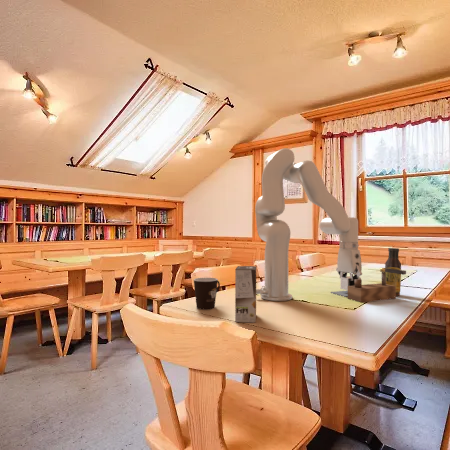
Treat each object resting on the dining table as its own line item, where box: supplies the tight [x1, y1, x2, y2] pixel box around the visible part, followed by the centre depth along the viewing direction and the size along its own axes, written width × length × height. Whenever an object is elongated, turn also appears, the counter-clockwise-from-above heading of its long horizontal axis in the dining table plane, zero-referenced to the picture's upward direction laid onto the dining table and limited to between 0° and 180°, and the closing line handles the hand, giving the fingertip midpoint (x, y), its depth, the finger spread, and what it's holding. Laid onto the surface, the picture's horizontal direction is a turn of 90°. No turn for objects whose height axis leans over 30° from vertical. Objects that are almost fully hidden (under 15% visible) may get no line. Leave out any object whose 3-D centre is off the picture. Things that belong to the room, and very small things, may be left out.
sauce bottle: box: [384, 247, 402, 297], centre depth 138 cm, size 6×6×20 cm
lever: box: [379, 267, 407, 276], centre depth 130 cm, size 10×3×1 cm, turn 28°
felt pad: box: [330, 290, 348, 298], centre depth 140 cm, size 12×9×1 cm
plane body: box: [347, 272, 397, 303], centre depth 131 cm, size 18×7×10 cm, turn 112°
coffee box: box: [234, 265, 257, 323], centre depth 103 cm, size 9×6×16 cm
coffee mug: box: [193, 277, 221, 311], centre depth 117 cm, size 12×9×10 cm
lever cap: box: [340, 275, 362, 291], centre depth 140 cm, size 7×4×5 cm, turn 112°
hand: (348, 288), depth 140 cm, fingers closed on lever cap, 4 cm apart
